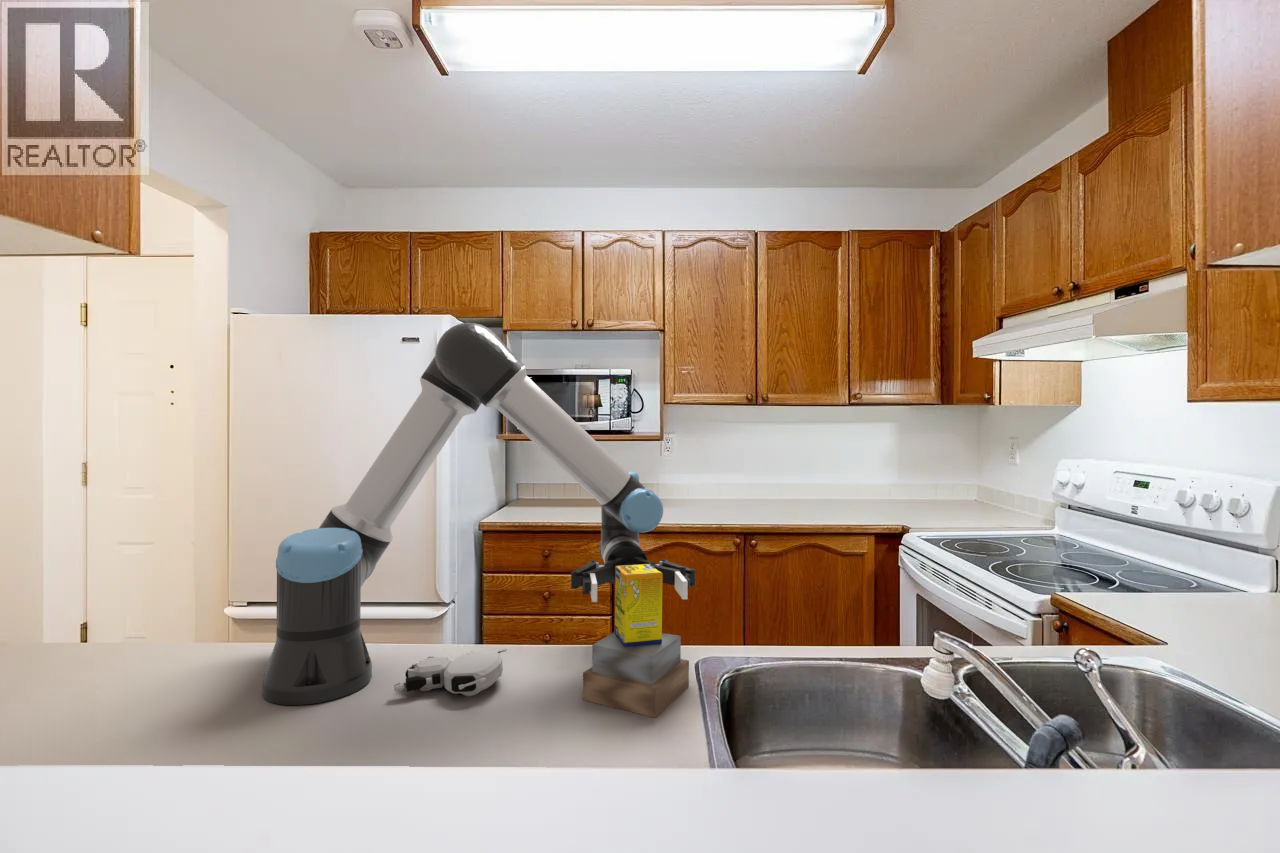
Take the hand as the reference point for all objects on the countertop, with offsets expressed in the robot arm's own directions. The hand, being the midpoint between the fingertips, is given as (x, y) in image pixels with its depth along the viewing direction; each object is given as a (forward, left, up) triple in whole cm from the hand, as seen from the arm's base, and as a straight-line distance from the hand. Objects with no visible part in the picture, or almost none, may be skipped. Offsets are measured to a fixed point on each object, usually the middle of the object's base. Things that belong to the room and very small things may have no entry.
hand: (640, 591), depth 92 cm
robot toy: (-28, -10, -16) cm, 34 cm away
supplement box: (-1, +2, -8) cm, 9 cm away
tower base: (-1, +2, -16) cm, 16 cm away
